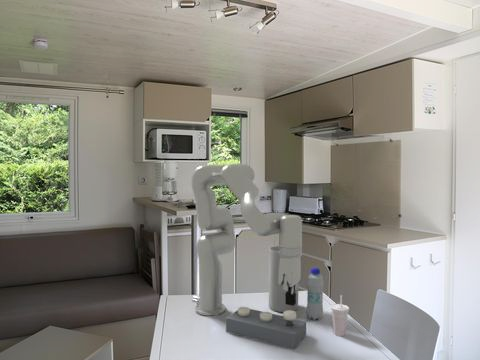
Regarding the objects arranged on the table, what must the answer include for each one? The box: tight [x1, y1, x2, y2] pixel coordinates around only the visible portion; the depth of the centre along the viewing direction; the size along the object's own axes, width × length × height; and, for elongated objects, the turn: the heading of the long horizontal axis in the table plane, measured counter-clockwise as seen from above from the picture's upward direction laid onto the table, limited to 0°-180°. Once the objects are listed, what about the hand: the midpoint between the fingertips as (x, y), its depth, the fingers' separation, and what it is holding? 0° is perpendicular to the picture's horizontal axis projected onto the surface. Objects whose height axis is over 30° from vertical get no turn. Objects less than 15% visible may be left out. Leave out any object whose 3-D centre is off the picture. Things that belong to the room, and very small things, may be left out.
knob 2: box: [282, 310, 297, 327], centre depth 128 cm, size 4×4×6 cm
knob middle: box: [260, 311, 273, 322], centre depth 132 cm, size 4×4×6 cm
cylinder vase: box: [268, 245, 300, 313], centre depth 157 cm, size 12×12×25 cm
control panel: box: [225, 308, 307, 350], centre depth 132 cm, size 26×12×5 cm, turn 61°
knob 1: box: [237, 306, 251, 316], centre depth 137 cm, size 4×4×6 cm
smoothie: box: [330, 295, 350, 337], centre depth 133 cm, size 6×6×14 cm
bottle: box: [306, 267, 325, 321], centre depth 146 cm, size 7×7×20 cm
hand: (290, 304), depth 128 cm, fingers closed
